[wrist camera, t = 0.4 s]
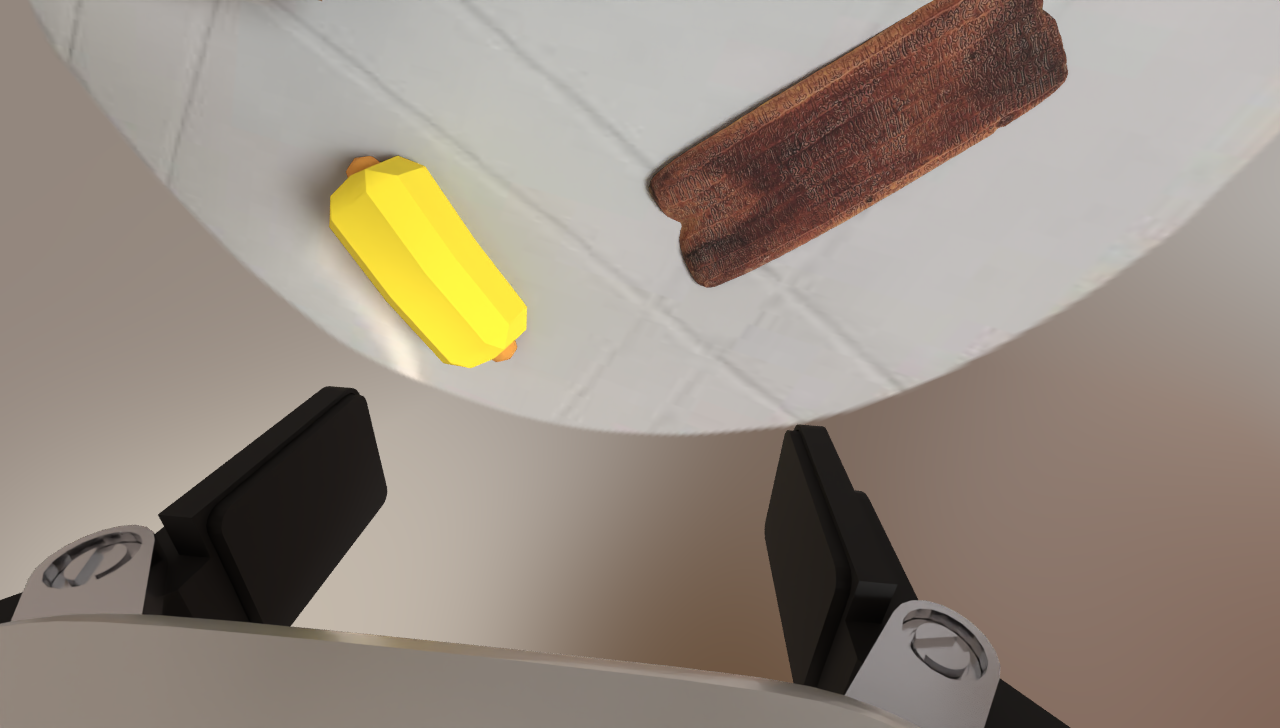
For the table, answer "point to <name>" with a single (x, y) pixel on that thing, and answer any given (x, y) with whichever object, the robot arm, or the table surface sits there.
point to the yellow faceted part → (426, 261)
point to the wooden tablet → (858, 131)
